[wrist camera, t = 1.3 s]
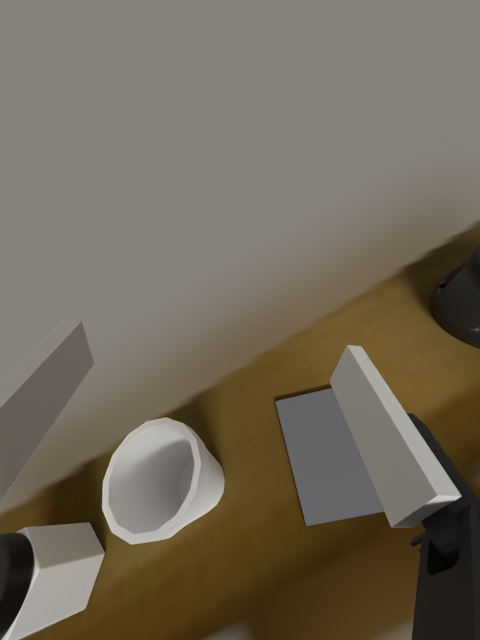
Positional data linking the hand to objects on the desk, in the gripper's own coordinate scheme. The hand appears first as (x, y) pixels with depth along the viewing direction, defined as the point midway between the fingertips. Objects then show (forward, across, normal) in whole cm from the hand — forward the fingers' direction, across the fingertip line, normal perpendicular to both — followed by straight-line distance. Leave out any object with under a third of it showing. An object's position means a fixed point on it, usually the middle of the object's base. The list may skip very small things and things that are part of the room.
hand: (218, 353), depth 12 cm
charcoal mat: (+7, +17, -20) cm, 27 cm away
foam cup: (+5, 0, -28) cm, 28 cm away
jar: (-2, -15, -35) cm, 38 cm away
